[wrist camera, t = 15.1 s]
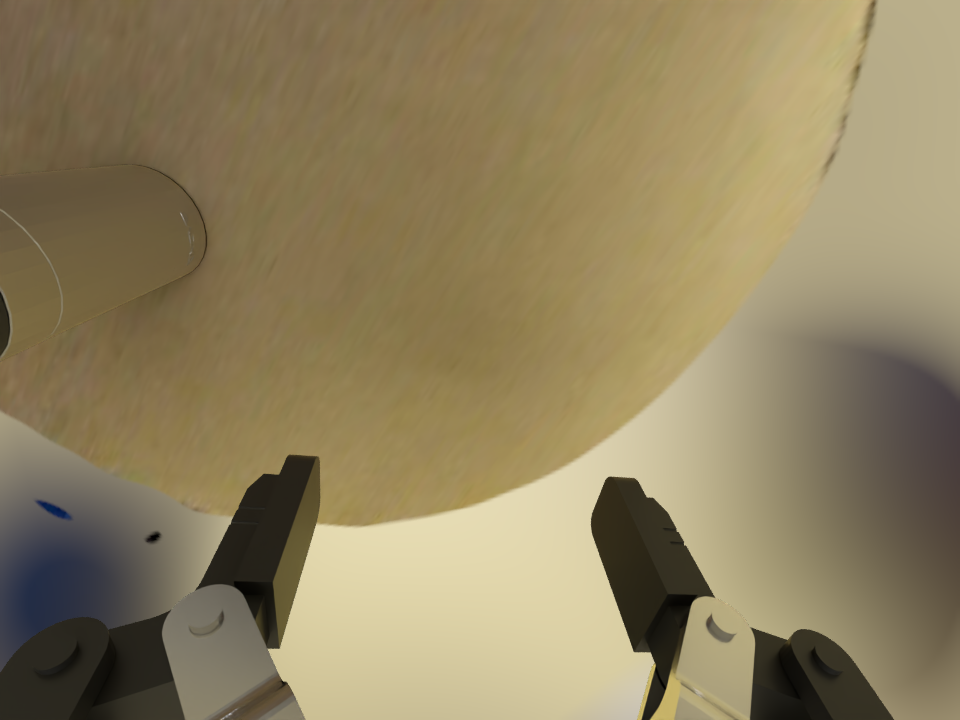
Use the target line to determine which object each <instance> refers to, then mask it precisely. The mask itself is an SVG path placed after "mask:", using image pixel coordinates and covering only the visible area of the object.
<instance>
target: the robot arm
mask: <svg viewBox="0 0 960 720" xmlns="http://www.w3.org/2000/svg"><path fill="white" fill-rule="evenodd" d="M205 247H206V234H205V229H204V224H203V221H202V219H201V216H200V214H199V211H198V210H197V208H196V207H195V205H194V203H193V202H192V200H191V199H190V198H189V196H188V195H187V194H186V193H185V192H184V191H183V189H182V188H181V187H179V186H178V185H177V184H176V183H175V182H173V181H172V180H171V179H170V178H168V177H166V176H165V175H163V174H161V173H160V172H158V171H155V170H153V169H150V168H147V167H144V166H138V165H117V166H105V167H93V168H79V169H68V170H56V171H45V172H34V173H22V174H11V175H0V362H1V361H3V360H5V359H7V358H9V357H11V356H13V355H16V354H18V353H20V352H22V351H24V350H26V349H29V348H31V347H33V346H35V345H37V344H39V343H41V342H43V341H45V340H47V339H49V338H52V337H54V336H56V335H58V334H60V333H62V332H64V331H67V330H69V329H71V328H73V327H75V326H77V325H80V324H82V323H84V322H86V321H88V320H90V319H92V318H95V317H97V316H99V315H101V314H103V313H105V312H108V311H110V310H112V309H114V308H116V307H118V306H120V305H123V304H125V303H127V302H129V301H131V300H133V299H135V298H138V297H140V296H142V295H144V294H146V293H148V292H151V291H153V290H155V289H157V288H159V287H162V286H164V285H166V284H168V283H170V282H172V281H174V280H177V279H179V278H181V277H183V276H185V275H187V274H189V273H190V272H192V271H193V270H194V269H195V268H196V267H197V266H198V265H199V263H200V261H201V259H202V258H203V255H204V251H205ZM319 507H320V461H319V457H317V456H301V455H288V457H287V458H286V460H285V463H284V465H283V467H282V470H281V472H280V474H279V475H274V474H263V475H262V476H261V477H260V478H259V479H258V480H256V481H255V482H254V483H253V484H252V485H251V486H250V487H249V488H248V489H247V491H246V493H245V495H244V497H243V499H242V501H241V503H240V505H239V509H238V510H237V511H236V513H235V515H234V517H233V519H232V522H231V525H229V527H228V529H227V531H226V533H225V535H224V537H223V539H222V541H221V543H220V545H219V547H218V549H217V551H216V553H215V555H214V557H213V559H212V561H211V563H210V565H209V567H208V569H207V571H206V573H205V575H204V577H203V579H202V581H201V583H200V584H199V586H198V587H197V588H196V590H195V591H194V592H192V593H190V594H188V595H187V596H185V597H184V598H183V599H182V600H181V601H179V602H178V603H177V604H176V605H175V606H174V607H173V609H172V610H170V611H168V612H166V613H164V614H161V615H159V616H156V617H154V618H151V619H147V620H143V621H139V622H135V623H132V624H128V625H125V626H120V627H117V628H113V629H109V630H108V629H107V627H106V626H105V625H104V624H103V623H102V622H101V621H99V620H97V619H94V618H89V617H80V618H73V619H68V620H65V621H62V622H59V623H56V624H54V625H52V626H50V627H48V628H46V629H44V630H42V631H41V632H39V633H38V634H36V635H35V636H33V637H32V638H31V639H29V640H28V641H27V642H26V643H24V644H23V645H22V646H21V647H20V648H19V649H18V650H17V651H16V653H14V655H13V656H12V657H11V659H10V660H9V661H8V663H7V664H6V666H5V667H4V668H3V670H2V671H1V672H0V720H305V718H304V716H303V713H302V711H301V709H300V707H299V705H298V702H297V700H296V698H295V696H294V694H293V692H292V690H291V688H290V686H289V685H288V683H287V682H283V681H282V679H281V678H280V676H279V674H278V672H277V669H276V667H275V665H274V663H273V660H272V658H271V656H270V654H269V651H268V649H270V648H272V649H274V648H275V649H279V648H280V645H281V642H282V639H283V635H284V632H285V628H286V624H287V621H288V617H289V614H290V611H291V608H292V604H293V601H294V598H295V594H296V591H297V587H298V584H299V580H300V577H301V573H302V570H303V567H304V563H305V560H306V557H307V553H308V550H309V546H310V543H311V540H312V536H313V533H314V529H315V526H316V522H317V518H318V513H319ZM591 529H592V535H593V538H594V541H595V543H596V546H597V549H598V552H599V555H600V558H601V560H602V563H603V566H604V569H605V571H606V575H607V577H608V580H609V583H610V586H611V589H612V591H613V594H614V597H615V600H616V603H617V606H618V608H619V611H620V614H621V617H622V620H623V622H624V625H625V628H626V631H627V634H628V636H629V639H630V642H631V645H632V648H633V651H634V652H651V654H652V657H653V659H654V662H655V663H654V664H653V666H652V668H651V671H650V674H649V678H648V682H647V685H646V689H645V693H644V696H643V700H642V703H641V707H640V711H639V715H638V718H637V720H894V719H893V717H892V716H891V715H890V713H889V712H888V710H887V709H886V707H885V706H884V704H883V703H882V702H881V700H880V699H879V697H878V696H877V694H876V693H875V691H874V690H873V689H872V687H871V686H870V684H869V683H868V681H867V680H866V679H865V677H864V676H863V674H862V673H861V671H860V670H859V668H858V667H857V666H856V664H855V663H854V661H853V660H852V659H851V658H850V656H849V655H848V654H847V653H846V652H845V651H844V650H843V649H842V648H841V647H840V646H839V645H837V644H836V643H835V642H833V641H832V640H831V639H829V638H828V637H826V636H824V635H822V634H820V633H818V632H815V631H812V630H807V629H801V630H797V631H796V632H794V633H793V635H792V636H791V637H790V638H789V639H788V640H786V639H783V638H780V637H777V636H774V635H771V634H768V633H765V632H762V631H759V630H756V629H754V628H751V627H750V626H749V624H748V623H747V622H746V620H745V619H744V618H743V617H742V615H741V614H740V613H739V612H738V611H737V610H735V609H734V608H733V607H732V606H730V605H729V604H727V603H725V602H723V601H722V600H719V599H716V598H715V597H714V595H713V593H712V591H711V590H710V588H709V586H708V584H707V582H706V581H705V579H704V577H703V575H702V573H701V572H700V570H699V568H698V566H697V564H696V563H695V561H694V559H693V557H692V556H691V554H690V552H689V550H688V548H687V547H686V546H684V541H683V539H682V538H681V536H680V534H679V532H677V531H676V527H675V525H674V523H673V522H672V520H671V518H670V516H669V514H668V513H667V511H665V509H664V508H663V507H662V506H661V505H659V503H658V502H657V501H656V500H655V499H654V498H647V497H646V495H645V494H644V491H643V490H642V488H641V486H640V484H639V482H638V481H637V480H636V479H635V478H623V477H608V478H607V479H606V480H605V483H604V485H603V487H602V490H601V493H600V495H599V498H598V500H597V503H596V505H595V508H594V510H593V513H592V518H591Z"/></svg>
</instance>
